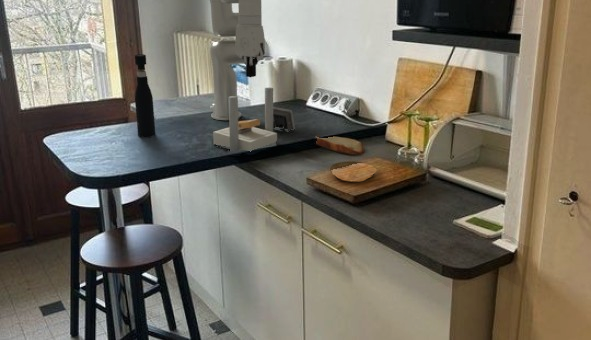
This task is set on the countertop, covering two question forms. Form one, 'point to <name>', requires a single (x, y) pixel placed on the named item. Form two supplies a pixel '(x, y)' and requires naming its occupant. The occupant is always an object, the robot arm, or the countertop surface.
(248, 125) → the rocker
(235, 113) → the post
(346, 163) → the plant saucer
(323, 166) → the countertop surface
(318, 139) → the bread slice
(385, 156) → the countertop surface
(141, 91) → the wine bottle
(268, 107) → the tall grey block
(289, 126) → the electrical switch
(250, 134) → the grey shallow tray
